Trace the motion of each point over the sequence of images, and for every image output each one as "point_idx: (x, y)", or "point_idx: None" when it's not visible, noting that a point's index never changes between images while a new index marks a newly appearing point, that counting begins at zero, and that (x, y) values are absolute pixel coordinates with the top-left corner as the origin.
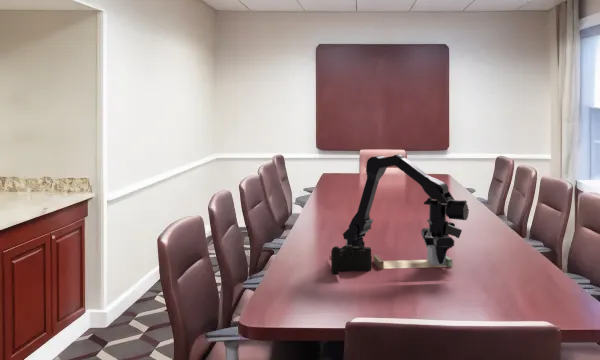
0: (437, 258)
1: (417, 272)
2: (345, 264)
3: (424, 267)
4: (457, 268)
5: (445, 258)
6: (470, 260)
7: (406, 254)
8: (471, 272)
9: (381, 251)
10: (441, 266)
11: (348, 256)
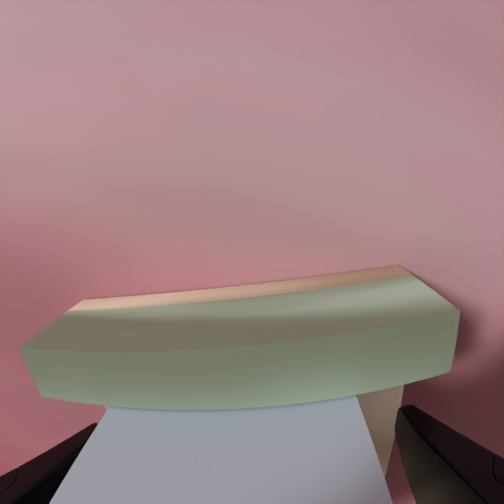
0: (411, 485)
1: (409, 493)
2: None
3: None
4: (362, 190)
5: (356, 399)
6: (41, 17)
7: (4, 447)
8: (489, 96)
9: None
10: (389, 389)
11: None
